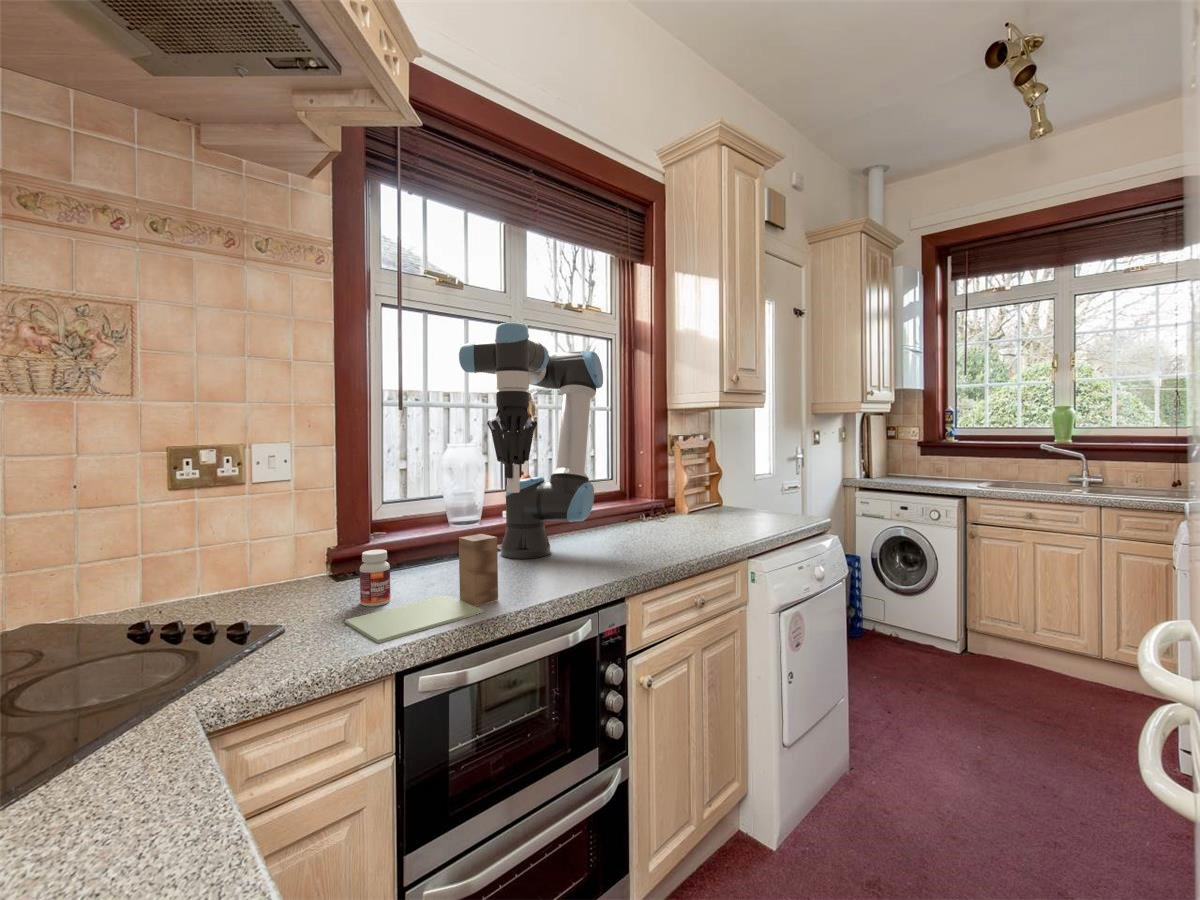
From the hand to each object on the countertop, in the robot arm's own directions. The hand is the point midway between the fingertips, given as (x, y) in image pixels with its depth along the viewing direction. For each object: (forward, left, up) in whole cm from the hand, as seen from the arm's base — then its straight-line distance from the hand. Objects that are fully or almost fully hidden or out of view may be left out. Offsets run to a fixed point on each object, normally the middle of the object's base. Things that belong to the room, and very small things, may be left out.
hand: (513, 492), depth 127 cm
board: (+25, 0, -23) cm, 34 cm away
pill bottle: (+26, -16, -24) cm, 39 cm away
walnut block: (+10, 0, -23) cm, 25 cm away
